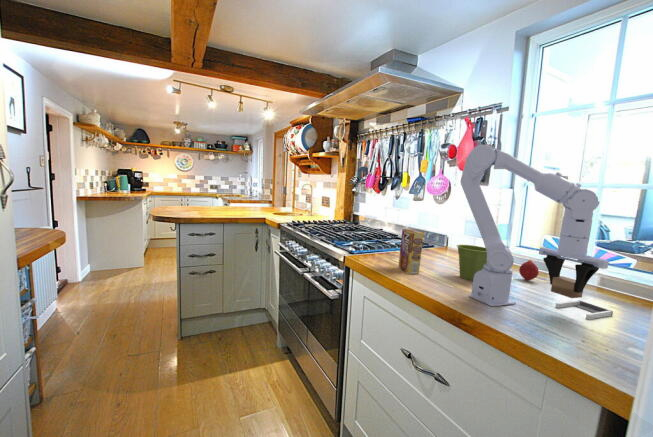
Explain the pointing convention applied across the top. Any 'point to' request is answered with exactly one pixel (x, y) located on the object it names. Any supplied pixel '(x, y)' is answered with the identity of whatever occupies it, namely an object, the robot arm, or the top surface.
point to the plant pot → (471, 260)
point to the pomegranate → (528, 270)
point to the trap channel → (587, 309)
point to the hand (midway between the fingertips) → (565, 288)
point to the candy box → (410, 251)
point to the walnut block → (565, 287)
